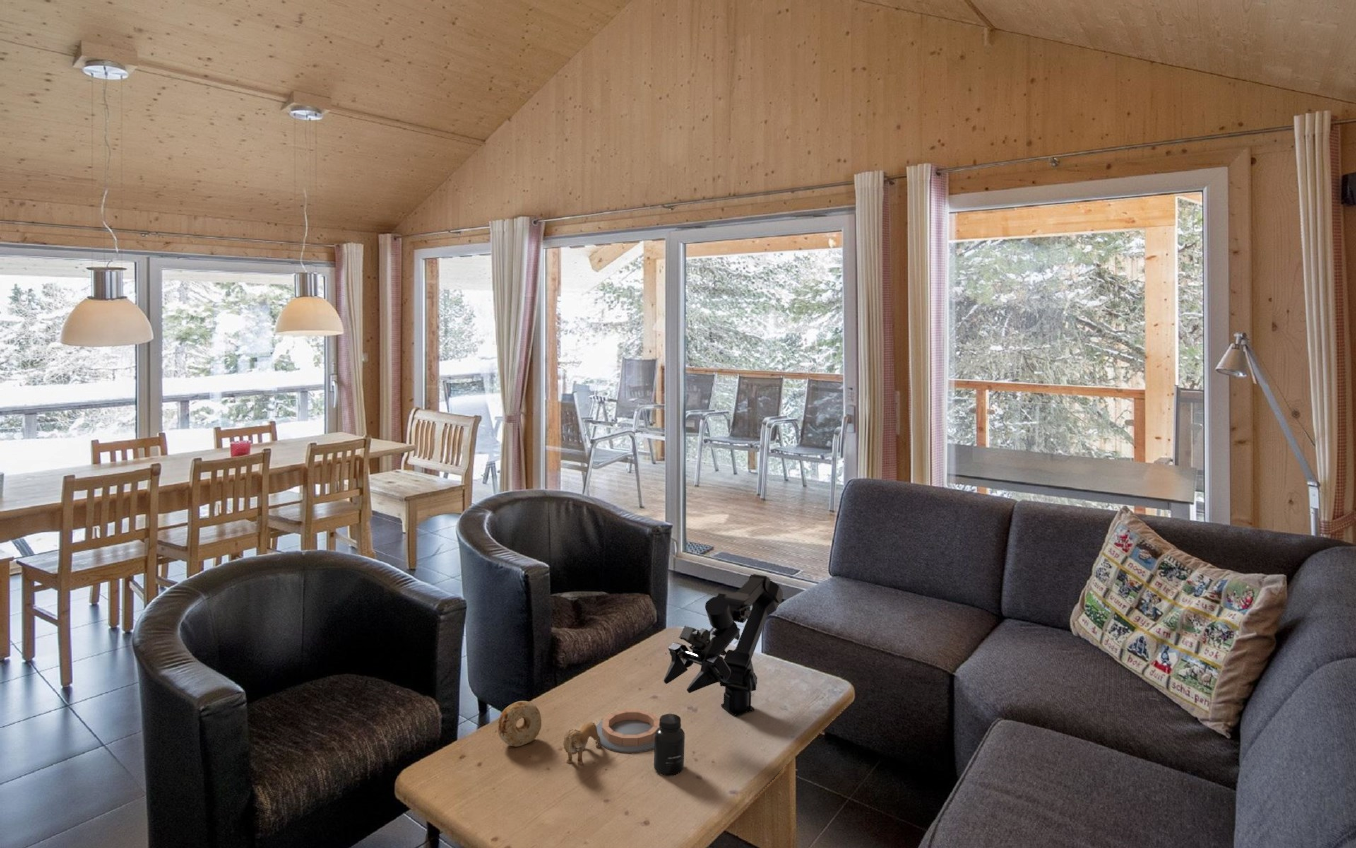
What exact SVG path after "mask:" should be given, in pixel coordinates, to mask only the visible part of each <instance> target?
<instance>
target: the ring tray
mask: <svg viewBox="0 0 1356 848" xmlns="http://www.w3.org/2000/svg"><path fill="white" fill-rule="evenodd" d="M659 723H660V717H658V716H657V715H655V714H654V713H653V712H650V711H647V710H643V709H639V708H638V709H637V708H633V709H632V708H629V709H628V708H627V709H626V708H625V709H621V710H620V709H619V710H618V711H613V712H610V713H609V714H608V715H607V716H606V717H604V718H603V719H602V720H601V721H599V722H598V723H597V725H596V727H597V733H598V736H599V737H600V739H601V740H600V741H601V746H602V748H605V749H607V750H610V751H612V752H617V753H624V754H626V753H627V754H633V753H634V754H635V753H636V754H637V753H643V752H648V751H650V750H654V742H655V731H656V730H657V728H659Z"/></svg>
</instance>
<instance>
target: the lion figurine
mask: <svg viewBox="0 0 1356 848" xmlns="http://www.w3.org/2000/svg"><path fill="white" fill-rule="evenodd" d="M596 726H597V725H596V723H595V722H592V721H589V722H585V723H584V724H582V726H581V727H580V728H579V729H578V730H577V729H576V728H575V729H573V728H571V729H570V730H568V731H567V732H565V734H564V737H563V743H562V744H563V749H564V750H565V752H566V753H567V759H566V760H565V761H566V763H567V764H571V763H572V762H573V756H574V755H577V759H576V760H577V765H583V764H584V763H583V752H584V750H585V749H586V746H587V744H588V741H589V738H592V739H593V740H594V741H596V744H595V747H596V748H600V747H601V741H600V740H601V739H600V737H599V736H598V733H597V727H596Z"/></svg>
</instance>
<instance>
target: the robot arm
mask: <svg viewBox="0 0 1356 848" xmlns="http://www.w3.org/2000/svg"><path fill="white" fill-rule="evenodd" d="M783 597H784V596H783V590H782V588H781V587H780V585H779V584H777V583H775V581H772V580H771V579H770V577H768V575H764V574H763V575H762V574H757V573H753V574H750V576H749V577H748V580H747V581H746V582H745V583H743V585H742V586H741V587H740V588H739V589H738V590H737V591H736V592H734V593H733V592H732V593H727V594H726V593H721V592H718V594H717V596H714V597H711V598H709V599H708V600H707V601H706V602H705V604H704V605H705V606H704V608H705V609H704V610H705V611H706V615H707V619H708V621H709V625H710V626H711V628H710V630H708V629H707V628H701V629H700V630H699V629H697V628H695V627H691V626H688V625H684V627H683V629H682V631H681V633H680V635H679V637H678V638H679V639H680V640H682V641H685V642H687V643H688V647H687V645H686V644H683V643H680V642H673V643H671V644H670V645H669V647H668V651H669V654H670V656H671V657H670V658H671V661H670V664H669V667H668V669H667V671H666V675H665V677H664V678H663V682H664V684H665V685H667V684H669V683H671V682H672V681H674V680H676V679H677V678H679V677H680V676H681V675H683V674H685V673H686V672H687V671H689V670H688V668H690V667H692V665H693V664H696V665H699V666H700V670H699V671H698V673H697V674H696V676H695V677H694V678H693V680H692V681H691V682H690V684H689V685H688V687H687V688H686V691H687V693H688V694H691V693H693V692H696V691H698V690H700V689H701V690H702V689H703V688H705V687H709V686H711V685H714V684H717V683H718V684H719V686H720V687H723V688H724V692H723V703H721V705H720V706H721V708H723V709H724V710H725V711H727V712H728V713H730V714H731V715H733V716H734V717H737V716H741V715H744V714H746V713H750V712H753V711H755V707H754V706H752V692H754V691H757V685H758V676H757V675H756V673H755V671H754V666H753V661H752V659H753V658H752V657H753V656H754V653H755V650H756V648H757V645H758V642H759V640H760V637H761V634H762V633H763V629H764V627H765V624H766V621H767V620H768V619H767V618H768V617H769V616H770V615H771V614H773V613H774V612H776V611H777V609H778V608H779V605H780V604H782V601H783ZM737 623H741V624H743V623H745V624H744V627H743V630H742V632H741V629H740V628H739V627H738V625H737ZM740 632H741V634H740ZM734 640H736V641H738V642H737V644H736V647H735V649H733V650H732V649H728V650H726V649H727V648H728V646H730V644H731V643H732V642H733V641H734ZM690 650H691V651H690Z"/></svg>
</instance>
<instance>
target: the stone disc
mask: <svg viewBox="0 0 1356 848" xmlns="http://www.w3.org/2000/svg"><path fill="white" fill-rule="evenodd" d="M541 716H542V715H541V712H540V709H539V708H538V707H537V705H536V704H534V703H533V702H530V701H527V700H519V701H516V702H513V703H511V704H509V705H508V706H507V707H505V708H504V709H503V710H502V712H501V713H500V716H499V718H498V728H497V729H498V735H499V738H500V739H501V741H503V743H505V744H506V745H508V746H510V747H521V746H524V745H527V744H529V743H532V741H535V739H536V738H537V736H539V734H540V732H541V729H542V717H541ZM521 719H523V722H522V724H521V725H520V726H517V723H518V721H520V720H521Z"/></svg>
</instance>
